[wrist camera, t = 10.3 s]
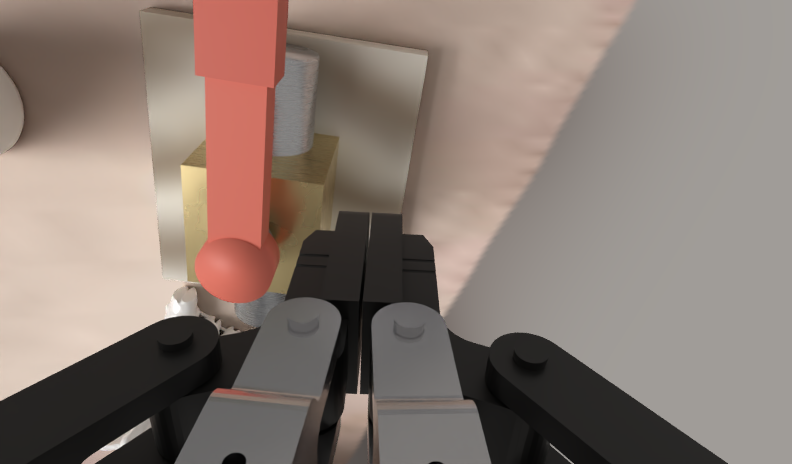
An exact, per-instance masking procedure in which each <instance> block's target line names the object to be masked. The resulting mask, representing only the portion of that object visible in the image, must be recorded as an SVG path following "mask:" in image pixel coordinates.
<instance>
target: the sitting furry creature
mask: <svg viewBox="0 0 792 464" xmlns="http://www.w3.org/2000/svg"><path fill="white" fill-rule="evenodd" d="M197 301H198V299H197V291H196V290H195V288H194V287H192V288H191V289H189V287H188V286H185V287H181V288H179V289H177V290H176V291H175V292H174V294H173V295H172V297H171V302H170V303H168V304H167V305H166V308H165V309H166V315H165V317H164V318H165V319H167V318H171V317H176V316H197V317H199V314H200V315H202V316H204V317H205V319H207V320H209V321H211V322H212V323H213V324H214V325H215V326H216V327H217V329H218V332H219V330H220V329H221V330H222V331H224V334H222V335H228V334H234V333H240V332H241V331H240V330H237V331H234V327H229V328H228V329H226V328H224V327H222V326H221V321H220V320H218V321H217V322H216V323H215V316H210V315H208V314H206V313H204V312H202V311H200V309H199V308H198V307H197ZM219 334H220V332H219ZM222 335H221V336H222ZM149 428H151V423H150V419H149V418H148V419H147V420H145V421H144V422H142V423H141V424H139V425H137V426H136V427H134V428H133V429H131V430H130V431H128V432H126V433H125V434H123V435H122V436H120V437H118V438H117V439H115V440H114V441H112V442H111V443H109V444H107V445H106V446H104V447H103V448H101V449H100V450H102V451H110V450H117V449H118V448H120V447H121V446H123V445H124V444H126V443H128V442H129V441H131V440H132V439H134V438H135V437H137V436H138V435H140V434H141V433H143V432H145V431H146V430H148V429H149Z"/></svg>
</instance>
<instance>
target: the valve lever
mask: <svg viewBox="0 0 792 464" xmlns="http://www.w3.org/2000/svg"><path fill="white" fill-rule="evenodd" d="M287 18H288V0H193V19H194V55H195V75H196V76H202V77H205V117H206V171H207V226H208V239H207V240H206V242H205V244H204V245H203V247H202V248H201V250H200V251H199V253H198V254H197V257H196V259H195V273H196V276H197V278H198V280H199V282H200V284H201V285H202V286H203V287H204V288H205V289H206V290H207V291H208V292H209V293H210V294H212V295H213V296H215V297H217V298H219V299H221V300H224V301H227V302H232V303H247V302H252V301H254V300H257V299H259V298H260V297H262V296H263V295H264V294H265V293H266V292H267V290H268V289H269V287H270V285H271V282H272V280H273V277H274V275H275V272H276V269H277V267H278V264H279V260H280V251H279V247H278V245H277V242H276V241H275V239H274V238H273V235H272V233H271V231H270V230H269V213H270V193H271V172H272V151H273V130H274V109H275V88H276V85H277V84H278V83H279V81H280V80H281V79H282V78H283V77H284V72H285V54H286V36H287Z"/></svg>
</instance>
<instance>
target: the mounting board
mask: <svg viewBox="0 0 792 464" xmlns="http://www.w3.org/2000/svg"><path fill="white" fill-rule="evenodd" d="M139 13H140V25H141V36H142V47H143V59H144V70H145V82H146V93H147V104H148V116H149V127H150V139H151V150H152V161H153V173H154V184H155V196H156V207H157V218H158V230H159V241H160V253H161V264H162V275H163V279H167V280H174V281H182V282H189V281H188V280H187V263H186V246H185V230H184V213H183V196H182V179H181V164H182V163H183V162H184V161H185V160H186V159H187V158H188V157H189V156H190V155H191V154H192V153H193V151H194V150H195V149H196V148H197V147H198V146H199V145H200V144H201V143H202V142H203V141H204V140H205V139H206V117H205V77H202V76H196V75H195V55H194V19H193V14H190V13H184V12H178V11H171V10H165V9H159V8H152V7H150V8H147V9H144V10H140V11H139ZM286 43H288V44H293V45H298V46H302V47H305V48H308V49H311V50H313V51H315V52H317V53H318V54H319V70H318V84H317V98H316V111H315V125H314V133H317V134H324V135H331V136H337V137H339V147H338V157H337V167H336V178H335V188H334V198H333V208H332V218H331V228H330V231H335V227H336V223H337V218H338V214H339V211H354V212H370V225H369V237H370V228H371V218H372V212H375V213H394V214H401V211H402V205H403V200H404V194H405V188H406V182H407V176H408V170H409V165H410V159H411V153H412V147H413V141H414V136H415V130H416V124H417V118H418V112H419V106H420V101H421V95H422V89H423V83H424V77H425V72H426V66H427V60H428V52H427V51H426V50H420V49H413V48H407V47H401V46H394V45H388V44H382V43H375V42H369V41H362V40H356V39H350V38H343V37H337V36H331V35H324V34H318V33H311V32H305V31H299V30H292V29H287V36H286ZM190 283H196V282H190ZM198 284H200V283H198Z"/></svg>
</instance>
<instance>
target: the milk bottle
mask: <svg viewBox="0 0 792 464" xmlns="http://www.w3.org/2000/svg"><path fill="white" fill-rule="evenodd" d="M23 125H24V109H23V102H22V100H21V97H20V94H19V91H18V89H17V88H16V86H15V84H14V82H13V80H12V79H11V78H10V76H9V75H8V74H7V73H6V71H5V70H4V68H2V67H1V66H0V155H1V154H3V153H4V152H6V151H8V150H9V149H10V148H11V147H12V146H13V145H14V144H15V143H16V142H17V140H18V139H19V137H20V134H21V131H22V128H23Z"/></svg>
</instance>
